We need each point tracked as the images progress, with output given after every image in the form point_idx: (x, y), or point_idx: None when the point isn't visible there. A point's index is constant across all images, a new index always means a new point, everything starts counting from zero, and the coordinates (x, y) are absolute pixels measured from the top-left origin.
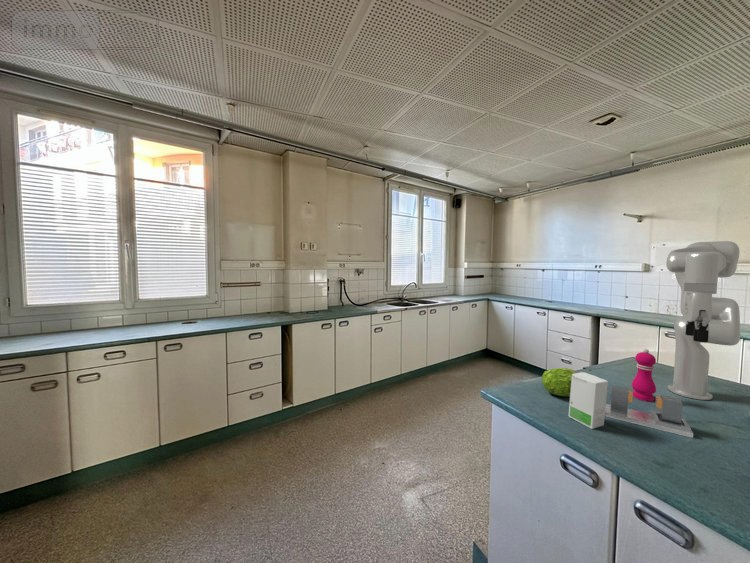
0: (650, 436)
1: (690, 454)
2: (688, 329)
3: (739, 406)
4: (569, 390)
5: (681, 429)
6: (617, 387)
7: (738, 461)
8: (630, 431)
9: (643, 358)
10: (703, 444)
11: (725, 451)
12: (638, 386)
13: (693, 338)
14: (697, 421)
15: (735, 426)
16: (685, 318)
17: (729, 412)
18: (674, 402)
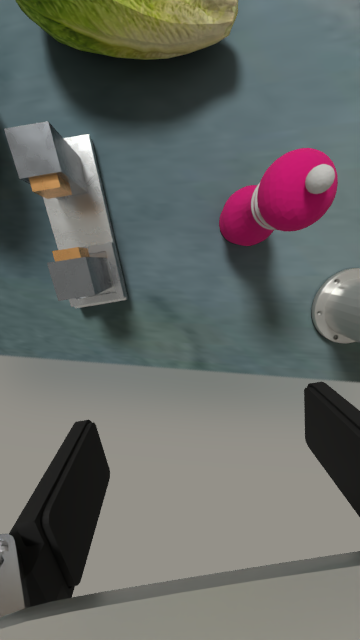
0: (16, 246)
1: (2, 302)
2: (340, 428)
3: (321, 375)
4: (22, 10)
5: None
6: (40, 142)
7: (44, 354)
8: (3, 213)
9: (265, 183)
10: (65, 318)
11: (67, 343)
12: (226, 204)
13: (76, 430)
14: (173, 314)
15: (199, 361)
16: (248, 622)
17: (271, 359)
18: (55, 285)
